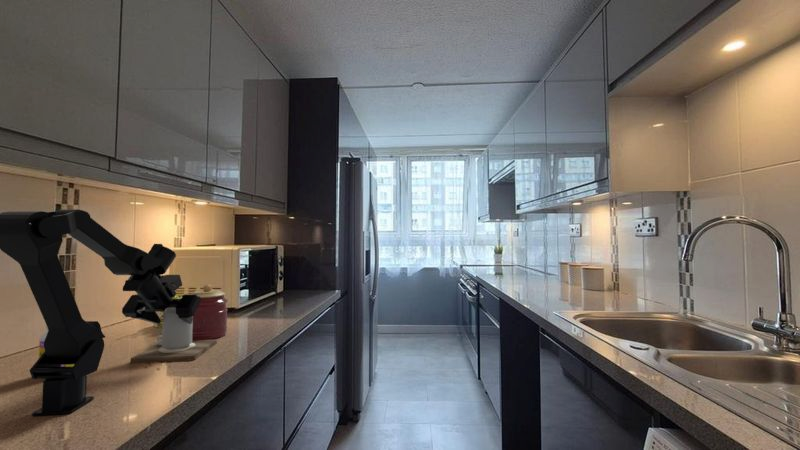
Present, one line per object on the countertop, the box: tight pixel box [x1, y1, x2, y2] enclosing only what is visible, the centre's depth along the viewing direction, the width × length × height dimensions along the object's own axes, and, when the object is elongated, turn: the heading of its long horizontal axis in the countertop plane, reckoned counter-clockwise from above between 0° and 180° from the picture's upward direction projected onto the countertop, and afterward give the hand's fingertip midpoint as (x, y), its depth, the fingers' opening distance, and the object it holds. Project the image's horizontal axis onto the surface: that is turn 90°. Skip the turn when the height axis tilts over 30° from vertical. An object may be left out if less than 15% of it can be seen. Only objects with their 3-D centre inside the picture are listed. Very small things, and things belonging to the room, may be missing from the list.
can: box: [161, 308, 193, 350], centre depth 103 cm, size 8×8×12 cm
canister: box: [191, 283, 229, 340], centre depth 121 cm, size 13×13×18 cm
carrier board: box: [130, 337, 218, 364], centre depth 103 cm, size 16×16×3 cm
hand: (175, 322), depth 102 cm, fingers open, 9 cm apart
